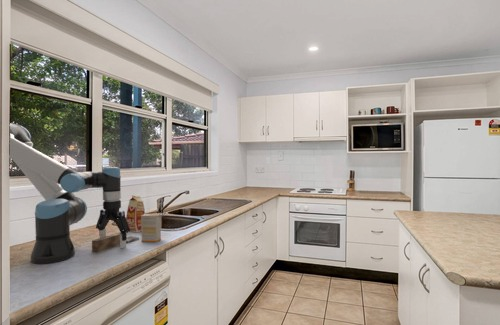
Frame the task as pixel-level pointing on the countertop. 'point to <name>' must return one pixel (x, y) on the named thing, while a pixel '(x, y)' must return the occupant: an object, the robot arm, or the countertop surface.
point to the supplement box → (151, 227)
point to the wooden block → (109, 242)
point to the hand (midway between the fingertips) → (112, 245)
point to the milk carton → (135, 214)
